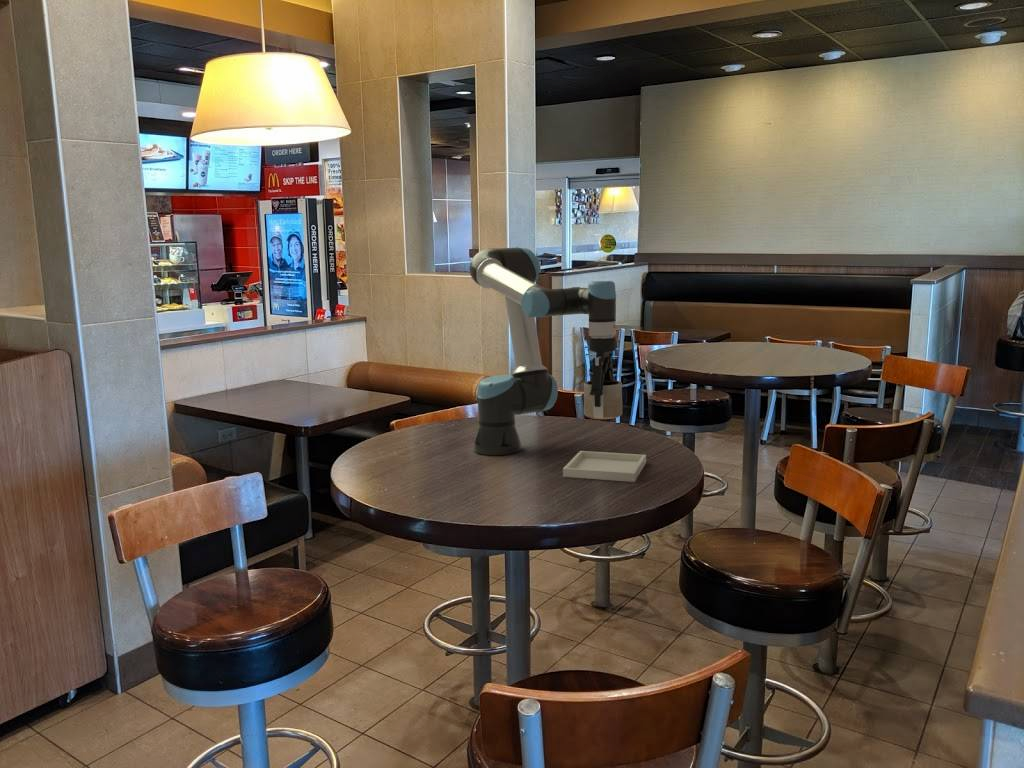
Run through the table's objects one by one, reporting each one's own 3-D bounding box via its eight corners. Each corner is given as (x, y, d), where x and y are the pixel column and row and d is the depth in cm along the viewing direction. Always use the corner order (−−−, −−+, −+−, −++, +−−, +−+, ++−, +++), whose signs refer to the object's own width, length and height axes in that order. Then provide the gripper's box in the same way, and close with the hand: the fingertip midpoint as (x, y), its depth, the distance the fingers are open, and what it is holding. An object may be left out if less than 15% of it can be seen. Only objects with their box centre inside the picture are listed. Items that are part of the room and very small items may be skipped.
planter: (577, 418, 220) (577, 384, 219) (592, 411, 229) (592, 378, 228) (614, 421, 215) (613, 386, 213) (628, 413, 224) (627, 380, 223)
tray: (563, 476, 219) (562, 468, 219) (580, 458, 238) (579, 450, 237) (634, 482, 213) (634, 473, 212) (646, 462, 231) (646, 454, 231)
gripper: (606, 341, 207) (607, 423, 210) (624, 332, 228) (624, 406, 232) (578, 341, 209) (579, 421, 213) (599, 332, 231) (599, 405, 234)
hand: (603, 414), depth 222 cm, fingers closed on planter, 11 cm apart
